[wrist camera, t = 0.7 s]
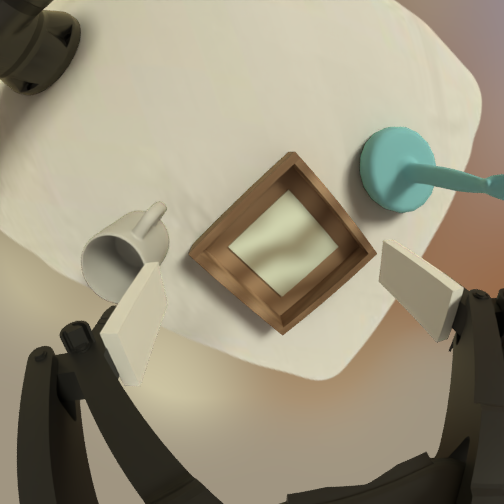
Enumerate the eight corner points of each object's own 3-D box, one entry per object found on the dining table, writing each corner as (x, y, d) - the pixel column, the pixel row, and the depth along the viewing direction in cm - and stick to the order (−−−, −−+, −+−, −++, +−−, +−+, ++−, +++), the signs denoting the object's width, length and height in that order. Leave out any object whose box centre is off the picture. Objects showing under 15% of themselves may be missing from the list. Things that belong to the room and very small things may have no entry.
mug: (150, 277, 39) (126, 318, 29) (106, 243, 37) (70, 274, 26) (196, 215, 36) (182, 240, 26) (148, 177, 34) (116, 187, 24)
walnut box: (192, 244, 38) (188, 254, 34) (288, 151, 34) (295, 151, 30) (278, 320, 43) (282, 335, 39) (365, 244, 39) (377, 253, 36)
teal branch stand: (387, 110, 33) (528, 96, 9) (434, 167, 36) (560, 201, 12) (340, 170, 36) (479, 209, 12) (393, 224, 39) (514, 299, 15)
